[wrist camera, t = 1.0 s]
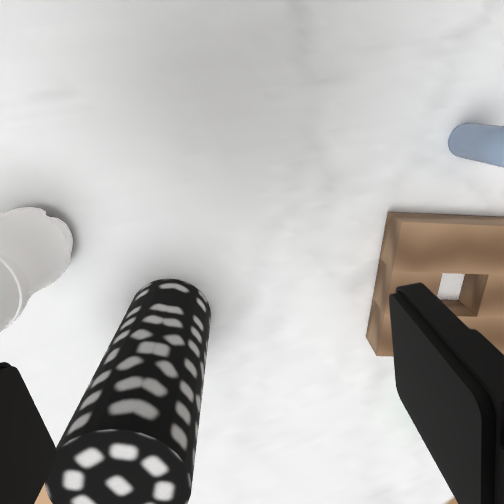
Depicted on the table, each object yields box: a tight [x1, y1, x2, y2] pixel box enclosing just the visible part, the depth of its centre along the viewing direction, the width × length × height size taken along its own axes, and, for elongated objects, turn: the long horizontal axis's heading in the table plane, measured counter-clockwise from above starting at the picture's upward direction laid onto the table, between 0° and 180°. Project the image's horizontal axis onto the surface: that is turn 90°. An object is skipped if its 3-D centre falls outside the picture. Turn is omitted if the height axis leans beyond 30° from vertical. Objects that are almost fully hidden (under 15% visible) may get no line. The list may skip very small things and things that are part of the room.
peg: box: [448, 123, 504, 167], centre depth 32 cm, size 3×3×10 cm
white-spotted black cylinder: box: [45, 279, 211, 504], centre depth 33 cm, size 8×8×20 cm
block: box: [366, 212, 504, 356], centre depth 40 cm, size 14×14×4 cm
